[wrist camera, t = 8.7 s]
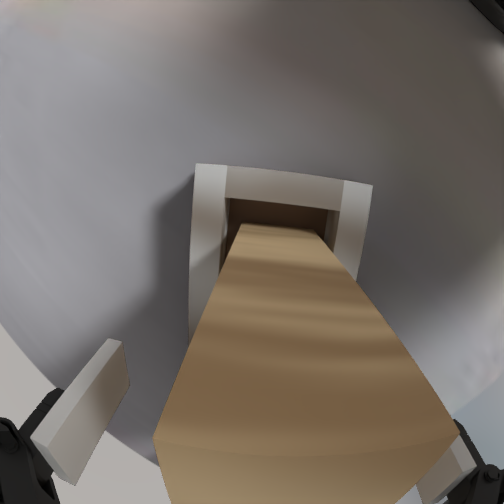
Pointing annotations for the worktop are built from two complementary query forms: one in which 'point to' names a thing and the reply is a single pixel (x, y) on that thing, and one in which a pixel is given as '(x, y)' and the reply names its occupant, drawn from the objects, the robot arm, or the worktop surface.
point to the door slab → (296, 387)
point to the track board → (268, 218)
